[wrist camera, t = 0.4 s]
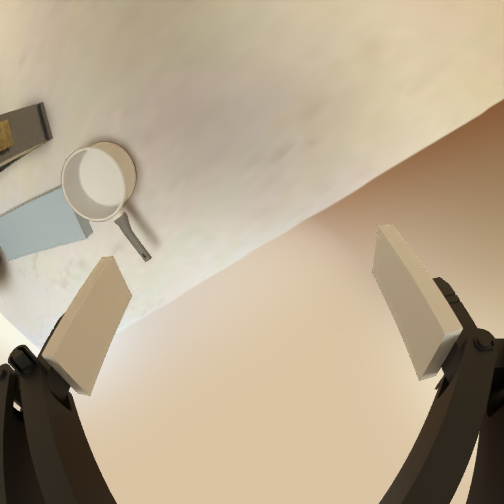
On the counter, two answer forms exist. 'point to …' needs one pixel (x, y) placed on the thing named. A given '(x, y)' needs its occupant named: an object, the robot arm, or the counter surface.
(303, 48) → the counter surface
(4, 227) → the board
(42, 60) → the counter surface
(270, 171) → the counter surface
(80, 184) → the saucepan
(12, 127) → the grey metal bracket
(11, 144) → the rail
